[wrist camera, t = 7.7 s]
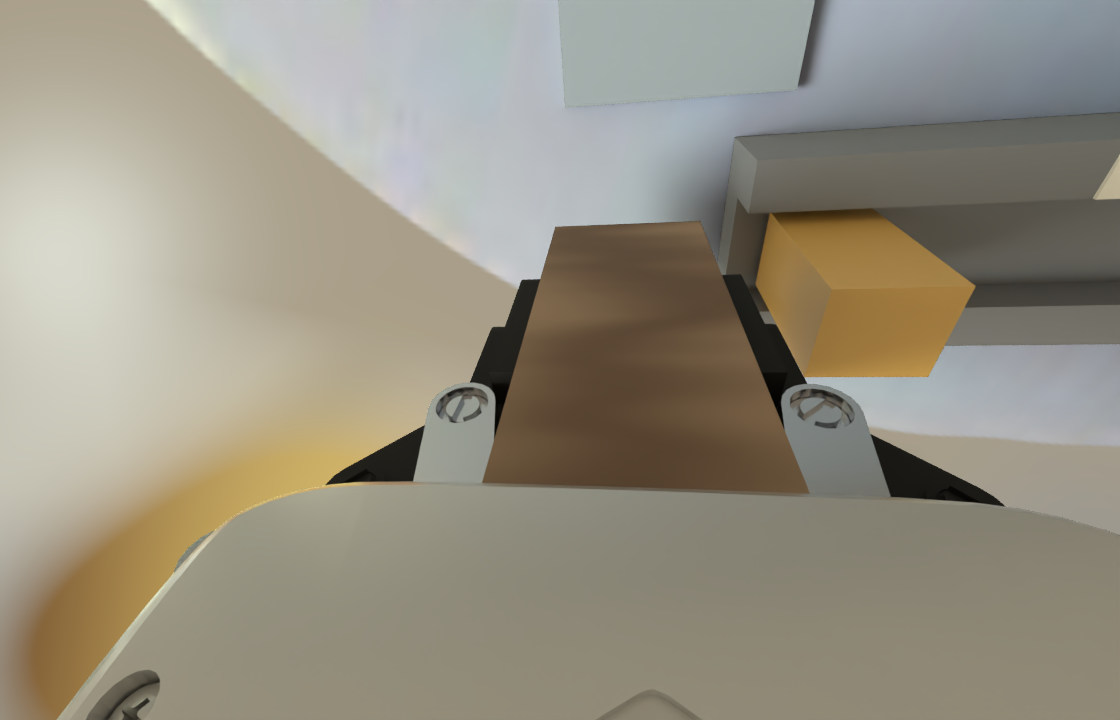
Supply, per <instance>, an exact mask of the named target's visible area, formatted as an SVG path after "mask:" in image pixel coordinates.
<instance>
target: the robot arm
mask: <svg viewBox="0 0 1120 720" xmlns="http://www.w3.org/2000/svg"><path fill="white" fill-rule="evenodd" d="M722 277H723V279H724V282H725V284H726V287H727V289H728V292H729V294H730V297H731V299H732V302H733V304H734V307H735V309H736V311H737V314H738V316H739V319H740V321H741V324H742V326H743V329H744V331H745V334H746V336H747V339H748V341H749V344H750V346H751V349H752V351H753V354H754V356H755V359H756V361H757V363H758V366H759V368H760V371H761V373H762V376H763V378H764V381H765V383H766V386H767V388H768V391H769V393H770V396H771V398H772V401H773V403H774V406H775V408H776V410H777V413H778V415H779V418H780V420H781V423H782V425H783V428H784V430H785V433H786V435H787V438H788V440H789V443H790V445H791V448H792V450H793V453H794V455H795V458H796V460H797V462H798V465H799V467H800V470H801V472H802V475H803V477H804V480H805V482H806V485H807V487H808V490H809V492H810V494H808V493H781V492H755V491H728V490H700V489H670V488H640V487H609V486H577V485H541V484H505V483H482V480H483V477H484V474H485V470H486V467H487V463H488V460H489V456H490V453H491V449H492V446H493V442H494V439H495V435H496V432H497V428H498V425H499V421H500V418H501V414H502V411H503V407H504V404H505V401H506V397H507V394H508V390H509V387H510V383H511V380H512V376H513V373H514V369H515V366H516V362H517V359H518V355H519V352H520V348H521V345H522V341H523V338H524V334H525V331H526V328H527V324H528V321H529V317H530V314H531V310H532V307H533V303H534V300H535V296H536V293H537V289H538V286H539V282H540V279H535V280H522V281H521V283H520V286H519V289H518V292H517V295H516V297H515V300H514V303H513V306H512V309H511V312H510V314H509V317H508V320H507V323H506V326H505V327H493V328H492V329H491V331H490V333H489V336H488V338H487V341H486V344H485V346H484V349H483V351H482V354H481V356H480V359H479V361H478V363H477V366H476V368H475V371H474V373H473V376H472V378H471V381H470V383H462V384H457V385H454V386H451V387H449V388H447V389H445V390H443V391H442V392H441V393H439V394H437V396H436V397H435V398H434V399H433V400H432V402H431V404H430V406H429V409H428V414H427V418H426V423H425V425H424V426H422V427H421V428H419V429H417V430H415V431H413V432H411V433H409V434H408V435H406V436H404V437H402V438H400V439H398V440H397V441H395V442H393V443H391V444H389V445H388V446H385V447H384V448H382V449H380V450H378V451H376V452H375V453H373V454H371V455H369V456H367V457H365V458H363V459H362V460H360V461H358V462H356V463H354V464H353V465H351V466H349V467H347V468H345V469H344V470H342V471H341V472H340V473H338V474H336V475H335V476H334V477H333V478H332V479H331V480H330V481H329V482H328V483H327V484H326V485H325V486H319V487H313V488H308V489H303V490H299V491H295V492H292V493H288V494H285V495H281V496H278V497H274V498H271V499H269V500H266V501H264V502H261V503H258V504H256V505H254V506H252V507H249V508H248V509H245V510H243V511H242V512H240V513H238V514H237V515H235V516H233V517H232V518H230V519H228V520H227V521H226V522H225V523H223V524H222V525H221V526H220V527H218V528H217V529H216V530H214V531H212V532H210V533H208V534H207V535H205V536H203V537H201V538H200V539H199V540H198V541H196V542H195V543H194V544H192V545H191V546H190V547H189V548H188V549H187V550H186V551H185V553H184V554H183V555H182V556H181V558H180V559H179V561H178V563H177V566H176V568H175V570H174V574H173V575H172V576H171V577H170V578H169V579H168V580H167V582H166V583H165V584H164V585H163V586H162V588H161V589H160V590H159V591H158V592H157V594H156V595H155V596H154V597H153V598H152V599H151V601H150V602H149V603H148V604H147V605H146V607H145V608H144V609H143V610H142V611H141V613H140V614H139V615H138V617H137V618H136V619H135V620H134V621H133V623H132V624H131V625H130V626H129V628H128V629H127V630H126V631H125V633H124V634H123V635H122V636H121V638H120V639H119V640H118V641H117V643H116V644H115V645H114V646H113V648H112V649H111V650H110V652H109V653H108V654H107V655H106V656H105V658H104V659H103V660H102V661H101V663H100V664H99V665H98V667H97V668H96V669H95V670H94V672H93V673H92V674H91V675H90V677H89V678H88V679H87V681H86V682H85V683H84V685H83V686H82V687H81V689H80V690H79V691H78V692H77V694H76V695H75V697H74V698H73V699H72V701H71V702H70V703H69V704H68V706H67V707H66V708H65V709H64V711H63V712H62V713H61V715H60V716H59V717H58V719H57V720H1120V535H1118V534H1115V533H1112V532H1110V531H1107V530H1103V529H1100V528H1097V527H1093V526H1090V525H1086V524H1083V523H1080V522H1076V521H1073V520H1069V519H1065V518H1063V517H1058V516H1053V515H1048V514H1044V513H1039V512H1034V511H1029V510H1024V509H1019V508H1012V507H1006V506H1004V505H1003V504H1002V503H1000V501H998V500H997V499H996V498H995V497H994V496H992V495H990V494H988V493H987V492H985V491H983V490H982V489H980V488H978V487H976V486H974V485H972V484H970V483H968V482H966V481H964V480H962V479H960V478H958V477H956V476H954V475H952V474H950V473H948V472H946V471H944V470H942V469H940V468H938V467H936V466H934V465H932V464H930V463H928V462H926V461H924V460H922V459H920V458H917V457H916V456H914V455H912V454H910V453H908V452H906V451H904V450H902V449H900V448H897V447H896V446H893V445H892V444H890V443H887V442H885V441H883V440H881V439H879V438H877V437H875V436H873V435H871V434H870V432H869V429H868V425H867V422H866V419H865V416H864V413H863V411H862V410H861V408H860V406H859V405H858V404H857V403H856V402H855V401H854V400H853V399H852V398H851V397H849V396H848V395H846V394H844V393H843V392H841V391H839V390H836V389H833V388H831V387H828V386H823V385H818V384H807V382H806V381H805V379H804V377H803V375H802V373H801V371H800V369H799V367H798V365H797V363H796V361H795V359H794V357H793V355H792V353H791V351H790V349H789V347H788V345H787V344H786V342H785V340H784V338H783V336H782V334H781V332H780V330H779V328H778V327H777V325H776V324H765V323H764V321H763V319H762V317H761V315H760V313H759V310H758V308H757V306H756V304H755V302H754V300H753V298H752V296H751V294H750V292H749V289H748V287H747V285H746V283H745V281H744V279H743V277H742V275H741V274H732V275H722Z"/></svg>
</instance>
